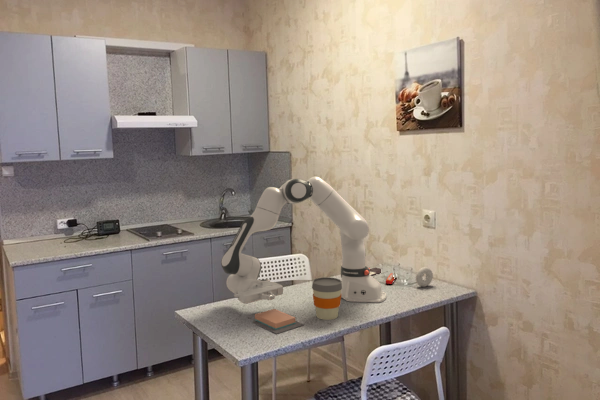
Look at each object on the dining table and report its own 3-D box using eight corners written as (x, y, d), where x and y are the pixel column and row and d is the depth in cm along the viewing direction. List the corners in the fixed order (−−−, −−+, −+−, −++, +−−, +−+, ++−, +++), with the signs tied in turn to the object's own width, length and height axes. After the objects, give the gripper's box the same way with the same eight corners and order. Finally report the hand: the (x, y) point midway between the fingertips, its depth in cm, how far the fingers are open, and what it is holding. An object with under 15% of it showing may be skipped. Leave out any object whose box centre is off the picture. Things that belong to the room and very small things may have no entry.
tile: (254, 314, 205) (275, 323, 195) (274, 308, 212) (295, 317, 201) (255, 320, 206) (275, 329, 195) (274, 314, 212) (295, 323, 202)
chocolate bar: (388, 270, 280) (367, 276, 267) (388, 272, 280) (367, 278, 268) (375, 267, 286) (354, 273, 274) (375, 269, 286) (354, 275, 274)
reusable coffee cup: (318, 309, 219) (318, 276, 217) (345, 312, 214) (345, 278, 212) (307, 319, 207) (307, 283, 206) (336, 323, 203) (336, 287, 201)
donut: (418, 288, 247) (418, 269, 246) (413, 287, 250) (414, 267, 249) (434, 286, 251) (434, 266, 250) (429, 284, 254) (429, 265, 253)
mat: (252, 322, 204) (252, 321, 204) (279, 314, 213) (279, 313, 213) (276, 334, 192) (276, 333, 192) (304, 325, 201) (304, 324, 201)
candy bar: (392, 286, 253) (392, 280, 253) (384, 285, 254) (384, 279, 254) (397, 277, 268) (397, 272, 267) (390, 277, 269) (390, 271, 269)
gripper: (231, 287, 207) (250, 295, 197) (271, 278, 220) (291, 285, 210) (232, 302, 208) (251, 311, 197) (271, 292, 221) (291, 299, 210)
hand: (272, 297), depth 204 cm, fingers closed
